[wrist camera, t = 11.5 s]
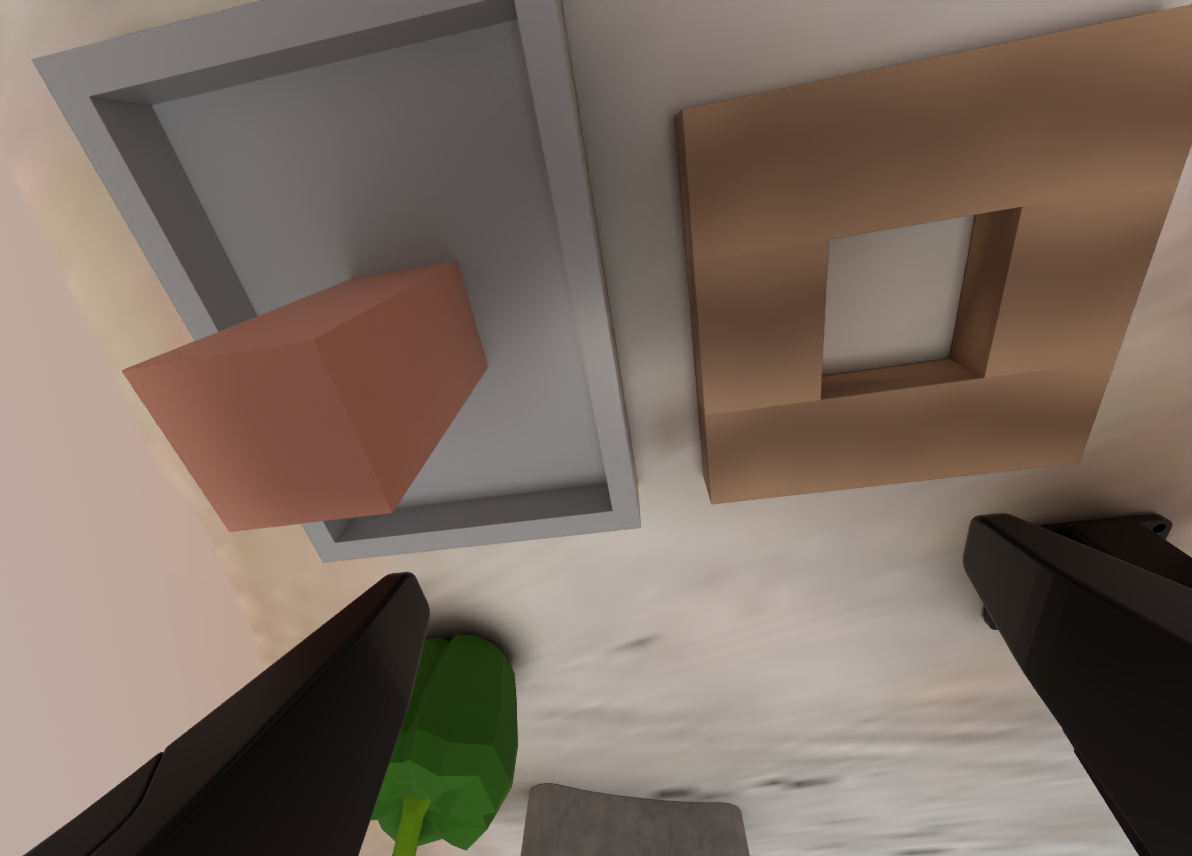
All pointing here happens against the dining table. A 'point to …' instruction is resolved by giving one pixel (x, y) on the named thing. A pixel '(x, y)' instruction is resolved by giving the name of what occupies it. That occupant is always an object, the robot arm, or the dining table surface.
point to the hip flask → (627, 826)
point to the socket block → (920, 195)
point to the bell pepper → (452, 747)
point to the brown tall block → (320, 398)
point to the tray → (385, 223)
